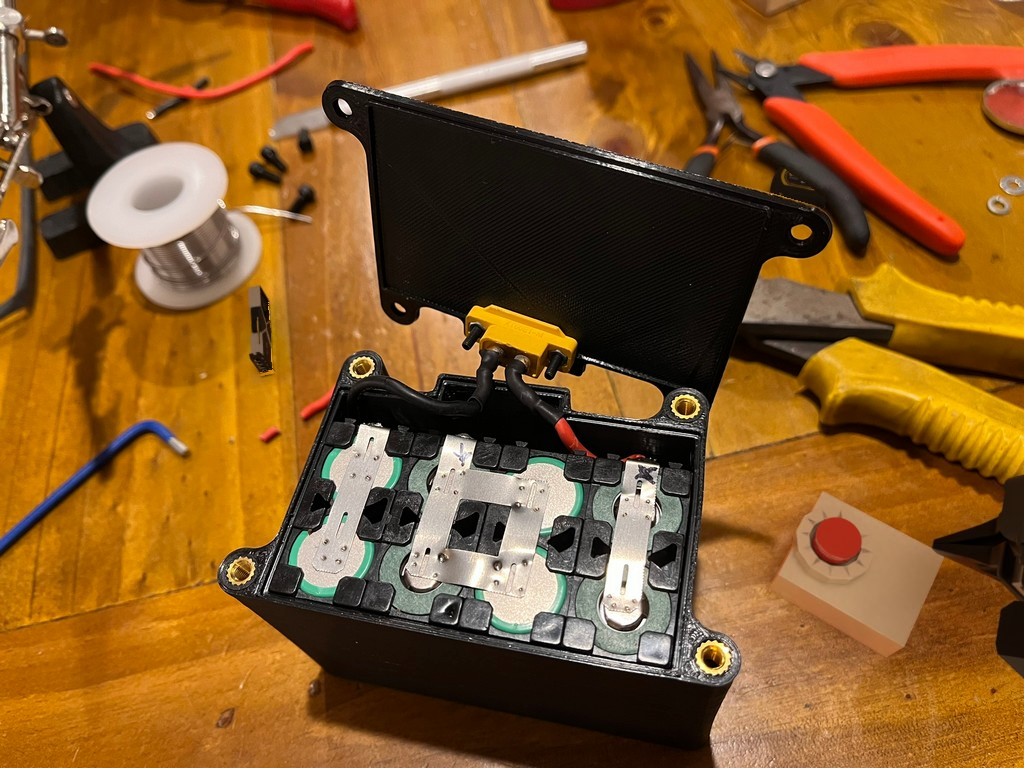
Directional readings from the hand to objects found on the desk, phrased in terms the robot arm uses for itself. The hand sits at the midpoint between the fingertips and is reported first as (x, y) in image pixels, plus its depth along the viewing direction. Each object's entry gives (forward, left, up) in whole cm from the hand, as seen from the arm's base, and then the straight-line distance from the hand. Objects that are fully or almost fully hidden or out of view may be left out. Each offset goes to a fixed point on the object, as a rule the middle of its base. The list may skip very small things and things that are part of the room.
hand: (934, 546), depth 65 cm
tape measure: (+28, -42, -14) cm, 52 cm away
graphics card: (+76, +11, -14) cm, 78 cm away
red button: (+6, +1, -7) cm, 10 cm away
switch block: (+3, +1, -13) cm, 14 cm away
